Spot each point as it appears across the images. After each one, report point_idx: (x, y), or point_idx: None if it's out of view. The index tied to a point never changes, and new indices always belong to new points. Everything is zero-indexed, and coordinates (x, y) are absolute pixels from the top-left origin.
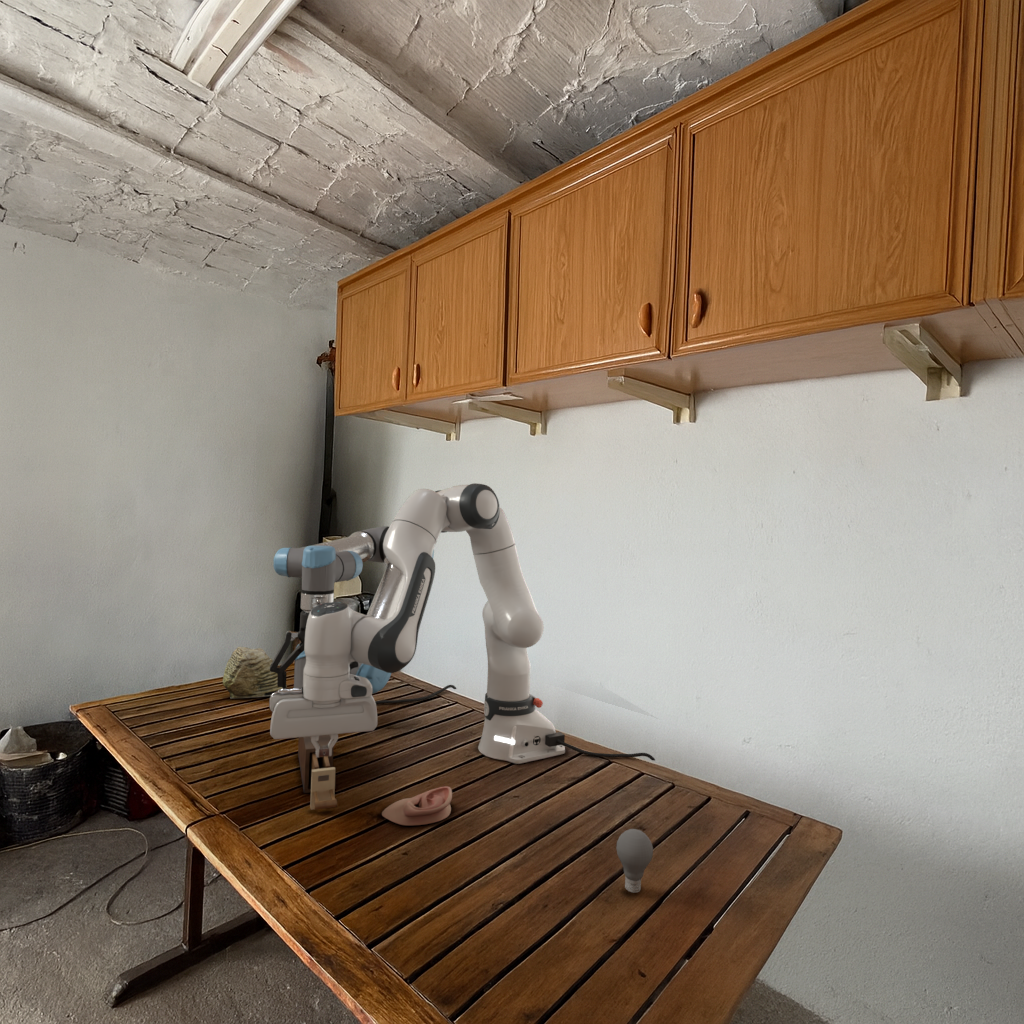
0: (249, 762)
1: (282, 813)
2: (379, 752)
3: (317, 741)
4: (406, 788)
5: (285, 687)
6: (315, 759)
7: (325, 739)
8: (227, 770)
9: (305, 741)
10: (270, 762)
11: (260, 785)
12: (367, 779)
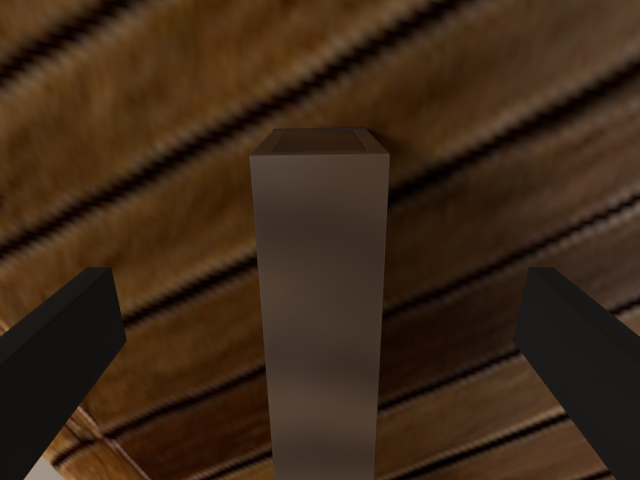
0: (105, 161)
1: (240, 465)
2: (565, 190)
3: (321, 471)
4: (538, 430)
5: (60, 423)
6: None
7: (352, 462)
8: (47, 210)
9: (277, 463)
10: (179, 180)
11: (172, 333)
12: (461, 367)
